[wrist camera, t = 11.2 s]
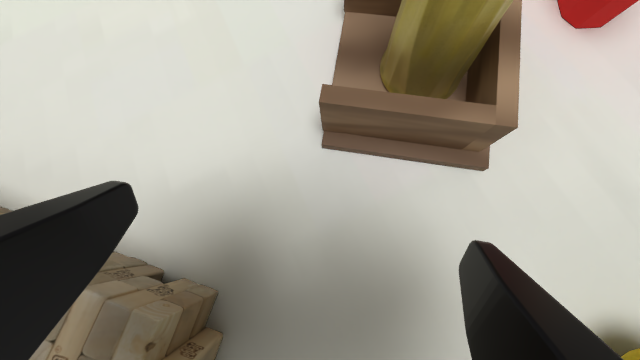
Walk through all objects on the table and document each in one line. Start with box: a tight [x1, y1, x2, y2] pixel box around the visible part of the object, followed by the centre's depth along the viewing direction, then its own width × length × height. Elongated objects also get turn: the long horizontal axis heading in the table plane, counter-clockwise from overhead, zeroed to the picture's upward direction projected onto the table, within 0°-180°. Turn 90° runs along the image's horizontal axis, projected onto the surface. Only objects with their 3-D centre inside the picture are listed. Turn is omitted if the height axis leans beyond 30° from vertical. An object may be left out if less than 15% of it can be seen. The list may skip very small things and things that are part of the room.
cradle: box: [319, 0, 522, 171], centre depth 20 cm, size 14×12×5 cm
